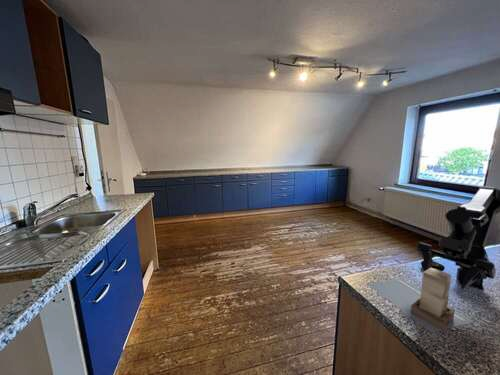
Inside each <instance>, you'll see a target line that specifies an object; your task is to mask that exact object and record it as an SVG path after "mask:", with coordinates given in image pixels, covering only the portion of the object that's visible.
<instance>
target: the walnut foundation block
mask: <svg viewBox="0 0 500 375" xmlns="http://www.w3.org/2000/svg"><path fill="white" fill-rule="evenodd" d="M419 306H420V299H418V300H417V301H416V302H415V303H413V304H412V305H411V313H412V314H414V315H415V316H417V317H419V318H421V319H423V320H425V321H427V322H429V323H431V324H432V325H434V326H436V327H438V328H440V329H442V330H441V331H444V330H443V329H444V328H445V327H446V326H447V325H448V324H449V323H450V322H451V321H452V320H453V318H454V311H455V309H454V310H453V308H452V307H451V308H452V309H451V308H449V307H450V306H449V307H447V312H446V313H445V314H443V315H442V316H441V317H438V316H436V315H434V314H432V313H430V312H428V311H426V310H424V309H422V308H420V307H419Z"/></svg>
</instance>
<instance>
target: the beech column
mask: <svg viewBox="0 0 500 375" xmlns="http://www.w3.org/2000/svg"><path fill="white" fill-rule="evenodd" d="M451 280H452V274H450V273H447V272H444V271H439V270H437V269H434V268H429V269H428V270H426V271H424V270H423V273H422V280H421V281H422V282H421V298H420V306H419V307H420V308H422V309H424V310H426V311H428V312H430V313H432V314H434V315H436V316H438V317H441V316H442V315H443V314H445V313H446V312H447V306H448V303H449V295H450V289H451V282H452V281H451Z"/></svg>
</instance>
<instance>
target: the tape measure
mask: <svg viewBox="0 0 500 375" xmlns="http://www.w3.org/2000/svg"><path fill="white" fill-rule="evenodd" d="M420 264H421V268H422V269H423V270H424V259H423V260H422V261H421V262H420ZM430 268H434V269H437V270H439V271H442V272H444V271H445V268H446V266H444V265H443V264H441V263H439V262H437V261H435V260H433V262H432V264H431V267H430Z"/></svg>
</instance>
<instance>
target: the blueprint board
mask: <svg viewBox="0 0 500 375" xmlns="http://www.w3.org/2000/svg"><path fill="white" fill-rule="evenodd" d="M367 285H368V286H369V287H371V288H372V289H373V290H375V291H376V292H377V293H378V294H380V295H381V296H383V297H384V298H385V299H386V300H388V302H390V303H391V304H393V305H394V306H396V307H397V308H398V309H399V310H401V311H402V312H403V313H404V314H406V315H408V316H409V317H410V318H412V319H413V320H414V321H415V322H417V323H418V324H419V325H421V326H422V327H423V328H425V329H426V330H428V331H429V332H430V333H431V334H432V333H433V334H434V333H436V332H440V331H445V330H449V329H452V328H455V327H460V326H464V325H467V324H471V323H474V322H475V321H473V320H472V319H470V318H469V317H467V316H465V315H464V314H462V313H460V312H459V311H457V310H455V309H453V307H451V306H448V305H447V307H449V308H451V309H453V310H455V311H454V318H453V320H452V321H451V322H450V323H449V324H448V325H447V326H446V327H445V328H444V329H443V330H442V329H440V328H438V327H436V326H434V325H432V324H431V323H429V322H427V321H425V320H423V319H421V318H419V317H417V316H415V315H414V314H412V313H411V305H412V304H413V303H415V302H416V301H417V300H418V299H420V298H421V289H422V288H421V289H420V288H419V287H418V286H416V285H414V284H412V283H410V282H409V281H407V280H405V279H404V278H403V277H398V278H394V279H393V278H392V279H389V280H388V279H387V280H383V281H377V282H372V283H367Z"/></svg>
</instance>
